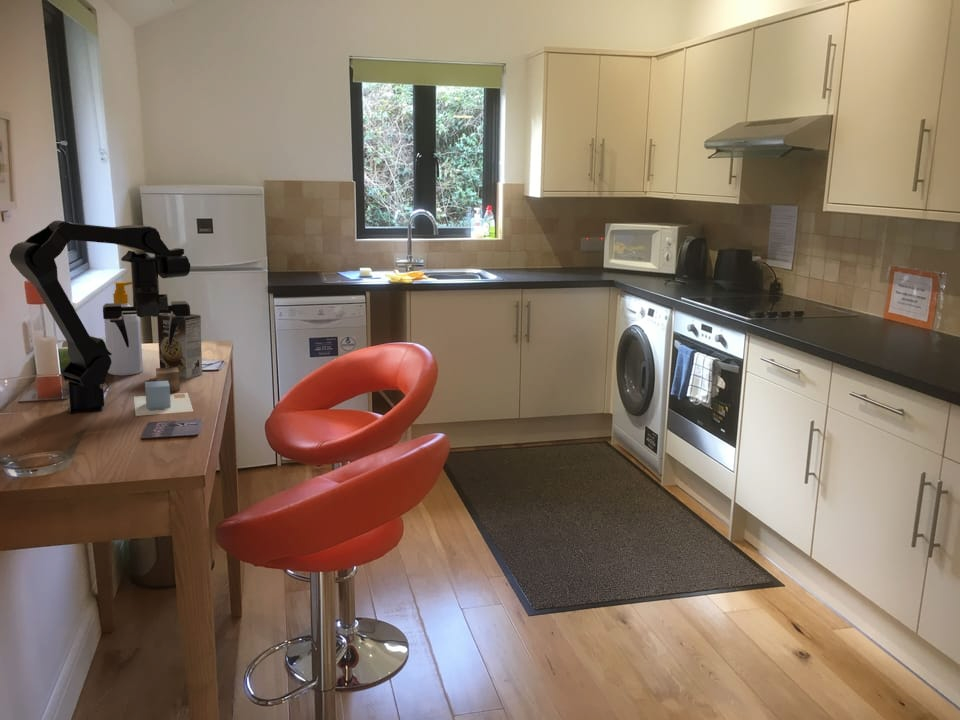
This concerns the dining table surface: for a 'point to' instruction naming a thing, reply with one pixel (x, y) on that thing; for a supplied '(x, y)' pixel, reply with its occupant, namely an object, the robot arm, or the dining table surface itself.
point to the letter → (178, 404)
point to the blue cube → (157, 394)
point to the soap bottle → (123, 356)
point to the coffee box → (181, 345)
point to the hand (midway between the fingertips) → (149, 345)
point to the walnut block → (169, 377)
